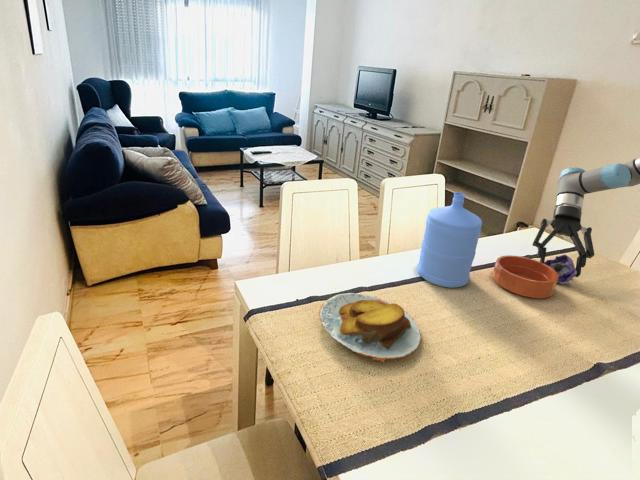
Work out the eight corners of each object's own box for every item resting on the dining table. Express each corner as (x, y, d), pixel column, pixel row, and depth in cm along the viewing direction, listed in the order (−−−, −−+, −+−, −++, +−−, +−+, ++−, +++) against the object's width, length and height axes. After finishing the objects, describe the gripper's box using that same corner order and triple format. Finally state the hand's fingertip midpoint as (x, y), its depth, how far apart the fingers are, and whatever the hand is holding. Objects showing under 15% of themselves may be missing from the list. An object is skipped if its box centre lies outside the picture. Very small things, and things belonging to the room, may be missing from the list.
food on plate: (338, 291, 114) (340, 271, 111) (426, 318, 103) (430, 298, 101) (302, 341, 93) (304, 318, 90) (408, 382, 82) (413, 357, 80)
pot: (555, 283, 123) (560, 267, 121) (549, 306, 111) (555, 288, 109) (497, 266, 132) (502, 250, 130) (486, 285, 120) (491, 268, 118)
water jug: (464, 294, 115) (486, 207, 105) (411, 278, 122) (426, 195, 112) (471, 273, 127) (491, 193, 117) (422, 259, 135) (437, 183, 125)
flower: (554, 250, 131) (559, 248, 122) (579, 267, 127) (586, 267, 118) (534, 269, 133) (537, 269, 124) (557, 287, 129) (563, 288, 120)
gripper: (603, 221, 129) (596, 284, 121) (528, 208, 138) (517, 265, 131) (612, 212, 122) (606, 277, 115) (533, 198, 132) (522, 258, 124)
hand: (559, 271), depth 123 cm, fingers closed on flower, 9 cm apart
